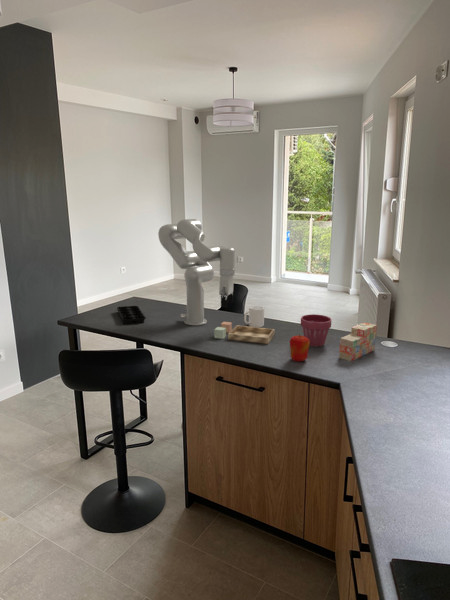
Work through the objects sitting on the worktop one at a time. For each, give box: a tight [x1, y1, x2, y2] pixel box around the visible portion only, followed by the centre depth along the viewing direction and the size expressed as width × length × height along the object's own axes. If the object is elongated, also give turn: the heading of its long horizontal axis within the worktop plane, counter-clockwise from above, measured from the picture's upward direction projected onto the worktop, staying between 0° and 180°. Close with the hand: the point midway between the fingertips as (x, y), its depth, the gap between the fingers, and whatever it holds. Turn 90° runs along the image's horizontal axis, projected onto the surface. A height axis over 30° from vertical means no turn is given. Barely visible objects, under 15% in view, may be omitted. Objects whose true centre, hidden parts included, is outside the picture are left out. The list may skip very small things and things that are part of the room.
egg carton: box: [116, 305, 146, 326], centre depth 245 cm, size 18×30×4 cm, turn 32°
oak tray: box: [227, 325, 276, 345], centre depth 213 cm, size 20×15×3 cm
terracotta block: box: [220, 321, 233, 334], centre depth 222 cm, size 4×4×4 cm
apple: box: [289, 333, 310, 362], centre depth 182 cm, size 9×8×12 cm
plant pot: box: [300, 313, 332, 348], centre depth 203 cm, size 14×14×13 cm
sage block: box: [213, 326, 227, 340], centre depth 213 cm, size 4×4×4 cm
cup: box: [243, 305, 265, 328], centre depth 231 cm, size 8×12×10 cm
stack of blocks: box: [338, 322, 378, 362], centre depth 191 cm, size 21×6×12 cm, turn 135°
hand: (226, 305), depth 219 cm, fingers open, 9 cm apart
